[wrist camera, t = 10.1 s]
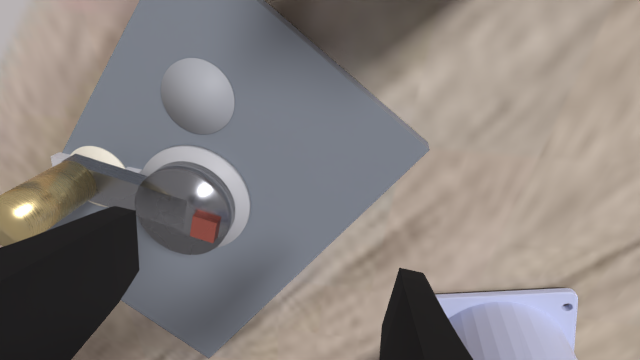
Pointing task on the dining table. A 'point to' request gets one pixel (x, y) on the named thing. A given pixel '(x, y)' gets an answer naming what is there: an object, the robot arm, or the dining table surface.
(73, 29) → the dining table surface
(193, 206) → the brass crank handle
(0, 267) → the robot arm
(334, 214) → the plate
